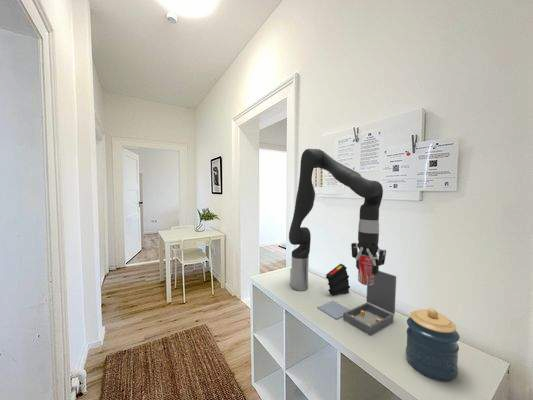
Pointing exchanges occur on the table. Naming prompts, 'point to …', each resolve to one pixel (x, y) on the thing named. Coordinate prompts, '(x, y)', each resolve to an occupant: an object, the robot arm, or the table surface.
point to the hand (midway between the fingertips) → (366, 271)
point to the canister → (432, 344)
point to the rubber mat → (333, 309)
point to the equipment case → (376, 304)
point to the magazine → (338, 280)
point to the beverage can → (365, 270)
